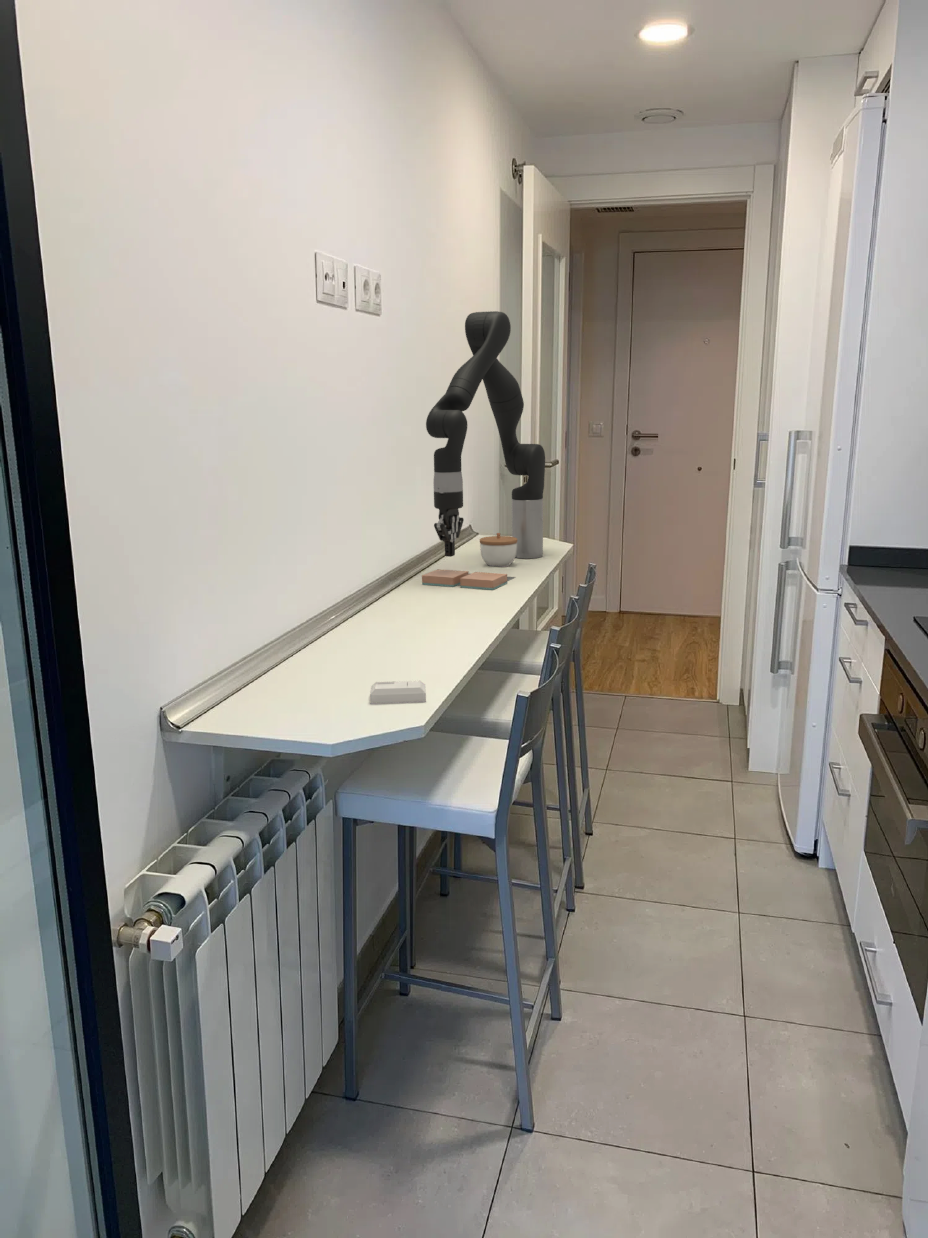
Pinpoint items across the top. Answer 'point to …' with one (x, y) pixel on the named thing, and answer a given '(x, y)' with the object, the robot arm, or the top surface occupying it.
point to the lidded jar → (498, 550)
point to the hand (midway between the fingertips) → (449, 555)
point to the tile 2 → (483, 580)
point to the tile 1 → (443, 577)
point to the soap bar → (397, 692)
